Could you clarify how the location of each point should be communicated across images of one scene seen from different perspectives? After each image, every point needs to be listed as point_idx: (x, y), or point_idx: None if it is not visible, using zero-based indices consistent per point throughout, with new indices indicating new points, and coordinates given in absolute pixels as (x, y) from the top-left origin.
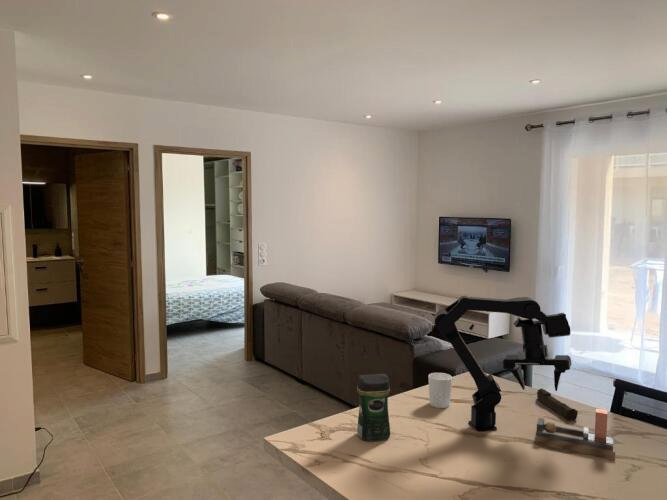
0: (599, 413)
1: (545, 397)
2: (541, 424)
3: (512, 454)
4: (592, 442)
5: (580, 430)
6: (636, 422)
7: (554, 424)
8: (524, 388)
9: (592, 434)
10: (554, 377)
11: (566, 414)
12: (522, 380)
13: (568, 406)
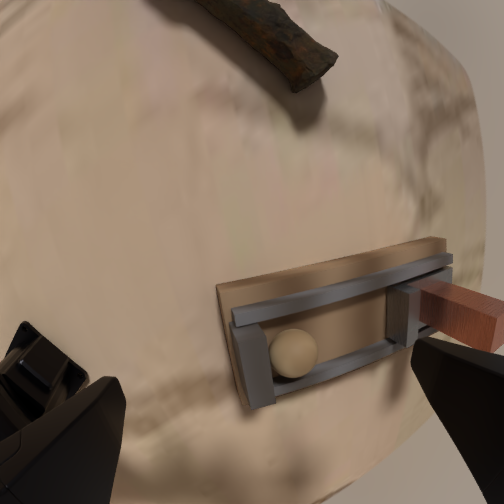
0: (493, 349)
1: None
2: (270, 402)
3: (207, 471)
4: None
5: (387, 280)
6: (433, 43)
7: (316, 357)
8: (121, 398)
9: (416, 287)
10: (480, 487)
11: (300, 86)
12: (92, 469)
13: (301, 29)
